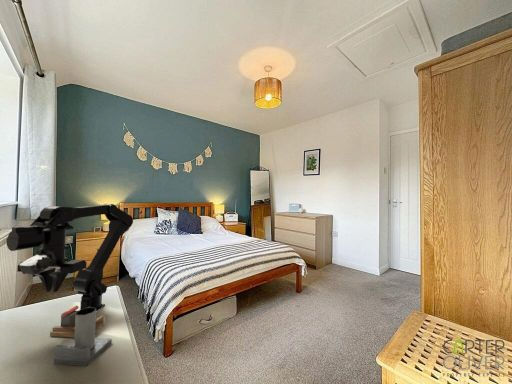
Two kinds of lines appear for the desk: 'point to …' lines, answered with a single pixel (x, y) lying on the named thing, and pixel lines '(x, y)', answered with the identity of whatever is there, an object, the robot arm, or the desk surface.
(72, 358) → the press bed
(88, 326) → the planter
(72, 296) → the desk surface
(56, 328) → the brown wooden tray
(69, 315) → the ram lever
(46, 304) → the desk surface
